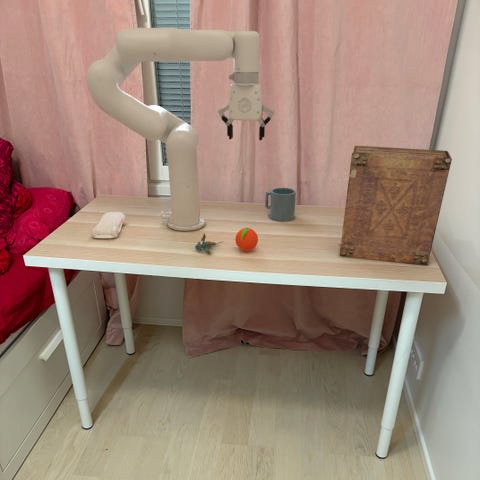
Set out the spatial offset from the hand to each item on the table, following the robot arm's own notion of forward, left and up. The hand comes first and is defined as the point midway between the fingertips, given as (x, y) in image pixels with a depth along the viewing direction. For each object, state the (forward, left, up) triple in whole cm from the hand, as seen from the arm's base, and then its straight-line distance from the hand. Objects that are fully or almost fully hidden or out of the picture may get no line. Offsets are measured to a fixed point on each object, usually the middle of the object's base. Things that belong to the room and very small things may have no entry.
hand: (245, 139), depth 151 cm
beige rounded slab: (-44, -13, -28) cm, 54 cm away
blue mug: (+11, +11, -28) cm, 32 cm away
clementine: (+4, -23, -28) cm, 37 cm away
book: (+45, -19, -28) cm, 57 cm away
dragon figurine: (-8, -24, -28) cm, 38 cm away
